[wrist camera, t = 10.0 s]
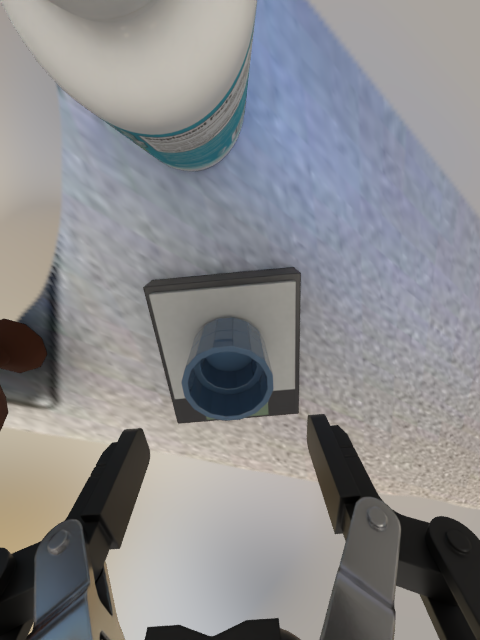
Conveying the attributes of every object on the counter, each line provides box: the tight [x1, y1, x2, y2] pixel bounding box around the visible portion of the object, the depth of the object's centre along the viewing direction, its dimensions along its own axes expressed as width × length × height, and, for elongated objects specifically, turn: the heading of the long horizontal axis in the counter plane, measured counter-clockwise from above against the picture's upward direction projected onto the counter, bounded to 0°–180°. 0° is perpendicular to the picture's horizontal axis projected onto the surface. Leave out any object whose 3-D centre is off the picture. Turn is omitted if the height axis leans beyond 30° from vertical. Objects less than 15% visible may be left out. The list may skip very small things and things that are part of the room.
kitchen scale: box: [143, 267, 301, 423], centre depth 22 cm, size 14×12×3 cm
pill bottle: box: [0, 0, 257, 171], centre depth 10 cm, size 8×7×14 cm
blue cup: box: [181, 317, 274, 421], centre depth 18 cm, size 6×6×5 cm
